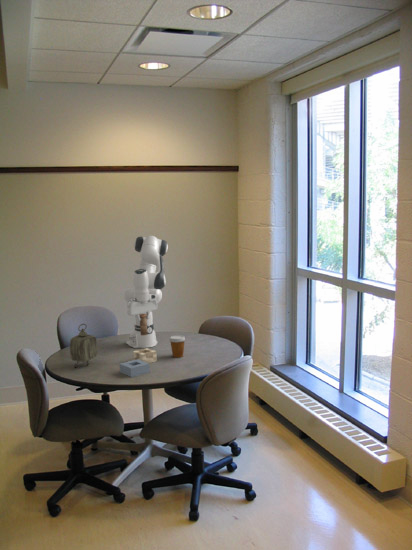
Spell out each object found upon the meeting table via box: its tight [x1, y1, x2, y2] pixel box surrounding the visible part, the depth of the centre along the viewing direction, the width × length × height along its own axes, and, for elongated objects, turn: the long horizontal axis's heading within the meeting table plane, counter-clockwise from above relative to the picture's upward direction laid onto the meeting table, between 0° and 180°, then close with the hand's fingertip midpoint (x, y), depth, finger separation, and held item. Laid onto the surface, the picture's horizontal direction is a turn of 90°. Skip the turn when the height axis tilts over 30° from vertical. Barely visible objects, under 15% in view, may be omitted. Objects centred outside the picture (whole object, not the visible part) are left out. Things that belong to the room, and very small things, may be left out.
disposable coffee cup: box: [169, 334, 186, 359], centre depth 343 cm, size 10×10×12 cm
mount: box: [132, 347, 158, 364], centre depth 336 cm, size 10×10×6 cm
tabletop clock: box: [69, 323, 98, 368], centre depth 329 cm, size 14×9×25 cm, turn 152°
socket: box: [119, 359, 151, 378], centre depth 315 cm, size 12×12×5 cm
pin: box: [140, 314, 147, 335], centre depth 333 cm, size 4×4×12 cm
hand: (143, 320), depth 333 cm, fingers closed on pin, 4 cm apart
